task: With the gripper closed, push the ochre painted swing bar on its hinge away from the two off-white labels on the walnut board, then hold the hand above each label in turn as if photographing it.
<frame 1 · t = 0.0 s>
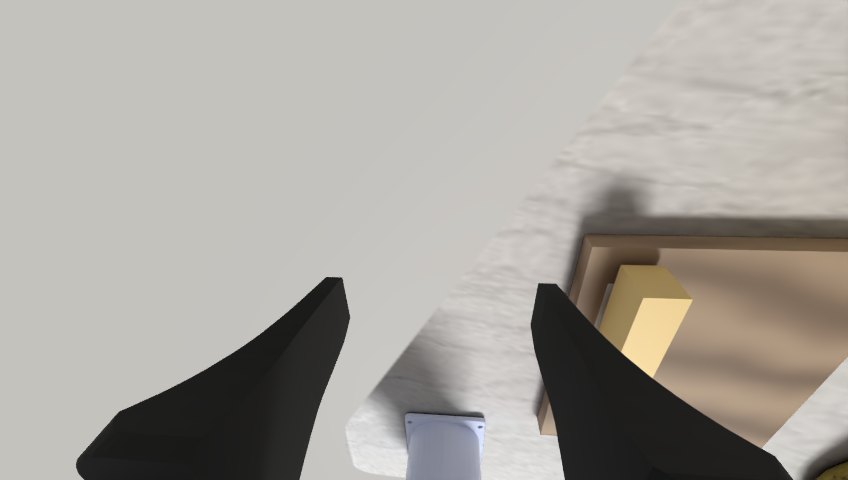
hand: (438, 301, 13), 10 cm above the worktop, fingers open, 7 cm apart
swing bar: (613, 378, 24), point 3 cm above the worktop, hinge at 0.0°
label board: (680, 350, 27), on the worktop
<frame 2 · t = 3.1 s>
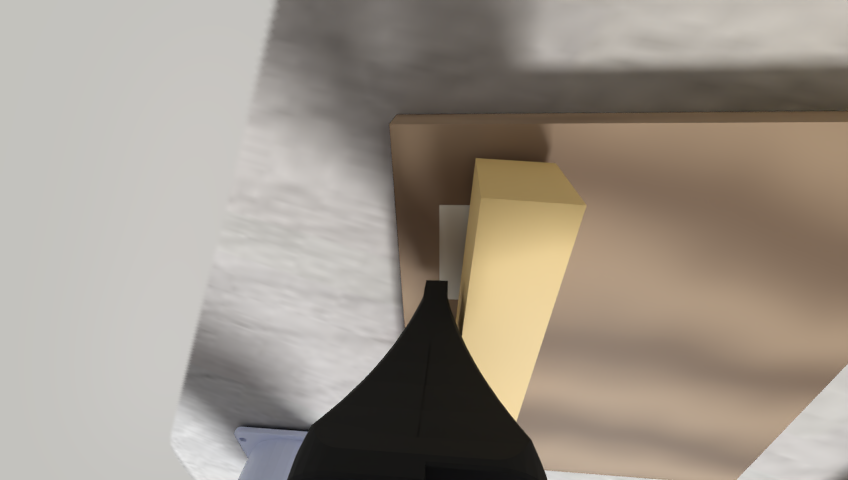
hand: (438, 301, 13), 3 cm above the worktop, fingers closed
swing bar: (482, 378, 14), point 3 cm above the worktop, hinge at 3.7°, touching gripper
label board: (600, 334, 17), on the worktop
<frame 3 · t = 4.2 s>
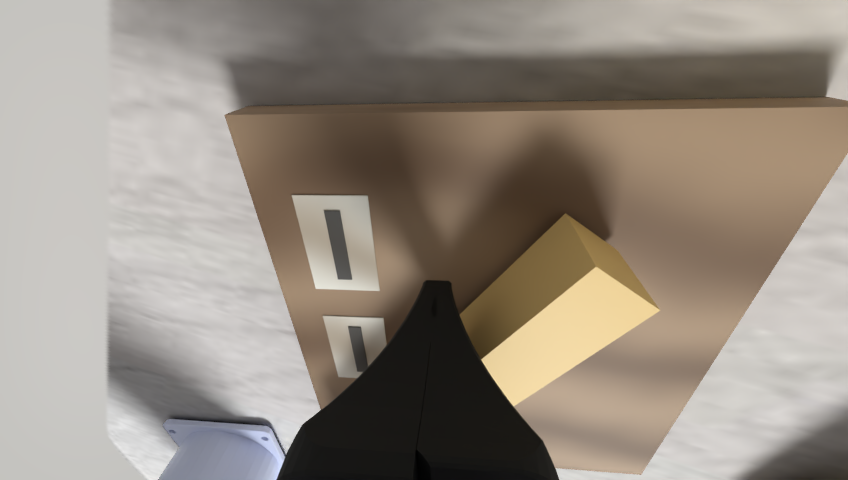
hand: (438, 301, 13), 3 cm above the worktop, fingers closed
swing bar: (442, 391, 15), point 3 cm above the worktop, hinge at 35.2°, touching gripper
label board: (492, 324, 17), on the worktop
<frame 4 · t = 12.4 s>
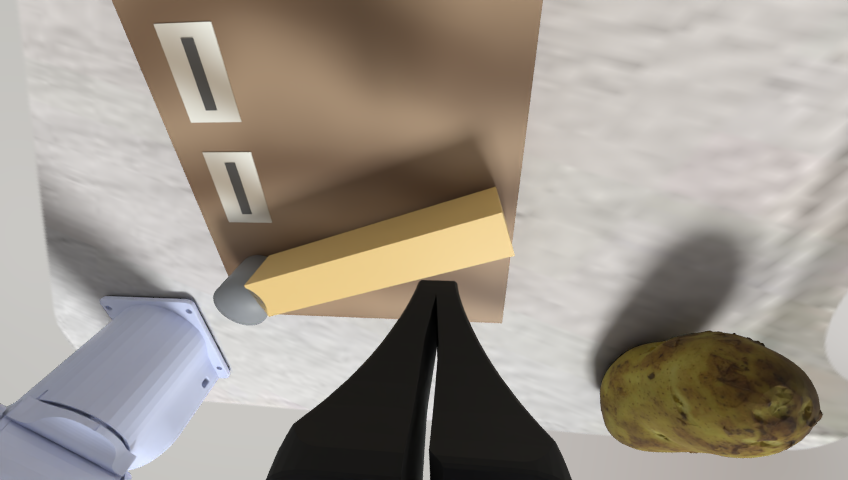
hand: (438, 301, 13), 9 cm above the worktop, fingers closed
potato: (652, 351, 26), on the worktop
swing bar: (353, 261, 20), point 3 cm above the worktop, hinge at 70.9°
label board: (353, 171, 20), on the worktop
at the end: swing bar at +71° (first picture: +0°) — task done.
